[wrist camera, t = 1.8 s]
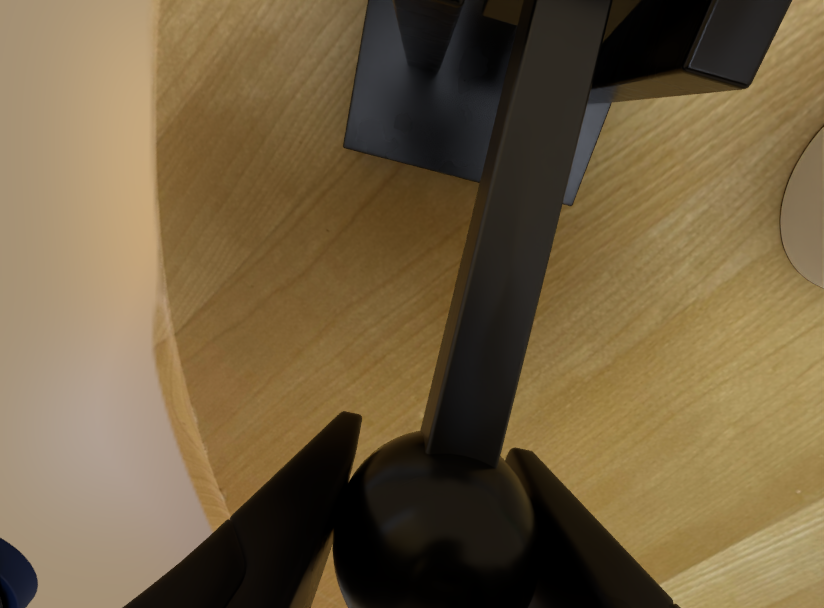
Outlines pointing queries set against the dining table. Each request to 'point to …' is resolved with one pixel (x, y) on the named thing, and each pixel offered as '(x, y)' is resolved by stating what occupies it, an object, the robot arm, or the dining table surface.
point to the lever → (481, 349)
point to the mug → (806, 213)
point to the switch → (488, 60)
